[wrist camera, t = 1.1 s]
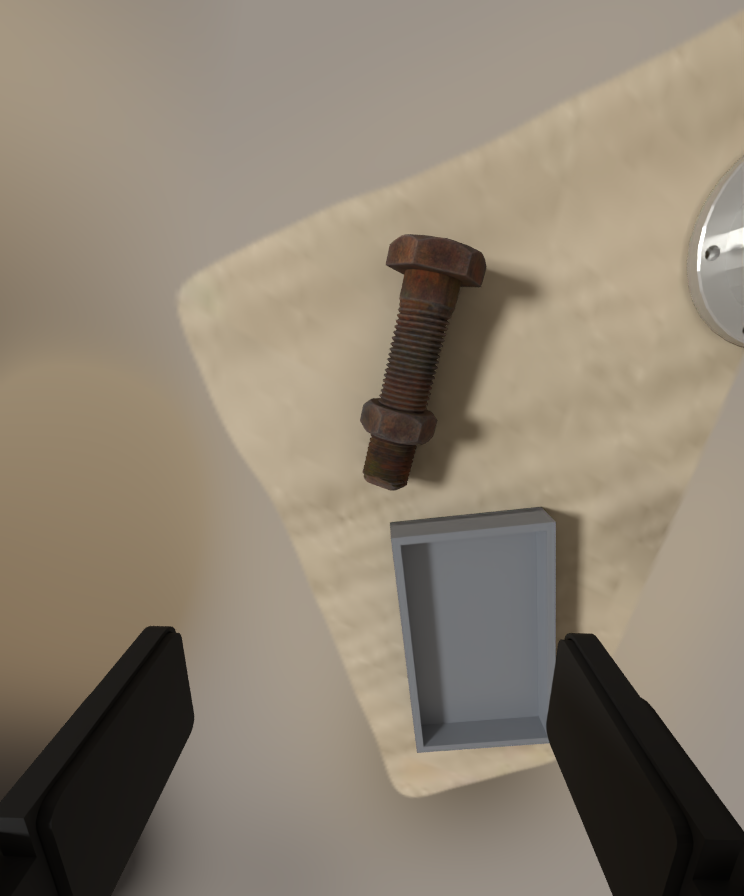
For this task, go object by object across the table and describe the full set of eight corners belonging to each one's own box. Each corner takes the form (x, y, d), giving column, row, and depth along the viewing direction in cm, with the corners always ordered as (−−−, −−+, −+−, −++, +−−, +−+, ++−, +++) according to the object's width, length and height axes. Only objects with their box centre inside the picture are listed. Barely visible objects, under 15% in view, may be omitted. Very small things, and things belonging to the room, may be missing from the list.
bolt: (374, 462, 30) (421, 256, 26) (432, 485, 28) (494, 265, 24) (329, 478, 25) (378, 228, 21) (395, 508, 23) (465, 235, 19)
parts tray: (541, 506, 29) (555, 521, 27) (543, 714, 34) (555, 742, 32) (390, 522, 29) (391, 538, 27) (414, 724, 35) (417, 752, 32)
